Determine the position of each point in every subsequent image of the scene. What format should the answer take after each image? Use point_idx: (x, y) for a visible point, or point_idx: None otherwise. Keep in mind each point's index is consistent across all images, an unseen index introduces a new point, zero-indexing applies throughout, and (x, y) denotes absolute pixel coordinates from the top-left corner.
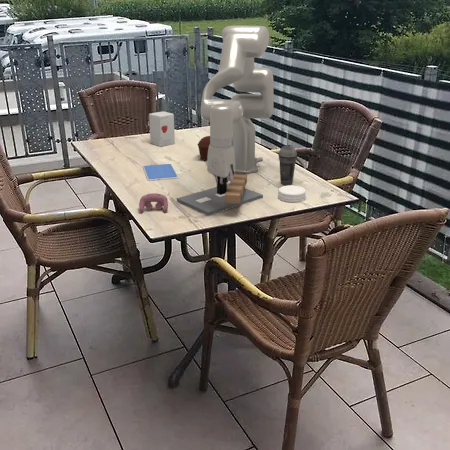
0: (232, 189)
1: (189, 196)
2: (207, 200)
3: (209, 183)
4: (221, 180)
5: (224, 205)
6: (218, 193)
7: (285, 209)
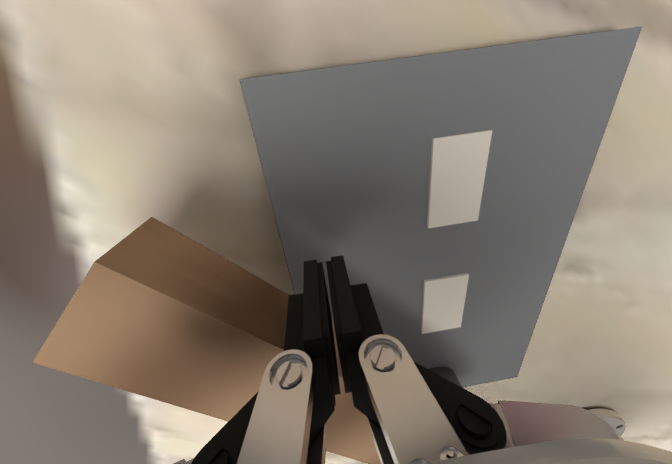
0: (238, 369)
1: (574, 139)
2: (430, 199)
3: (597, 319)
4: (274, 410)
5: (302, 243)
6: (327, 261)
7: (169, 413)
